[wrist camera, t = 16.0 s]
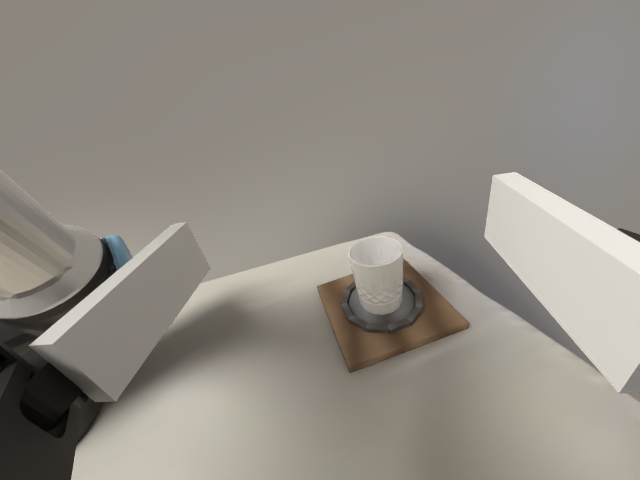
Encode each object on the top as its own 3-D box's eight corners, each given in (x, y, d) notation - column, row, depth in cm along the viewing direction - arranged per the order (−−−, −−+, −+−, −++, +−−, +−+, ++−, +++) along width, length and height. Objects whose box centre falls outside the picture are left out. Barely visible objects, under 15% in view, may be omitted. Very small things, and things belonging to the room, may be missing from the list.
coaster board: (349, 372, 35) (347, 363, 34) (318, 290, 51) (316, 282, 50) (467, 328, 37) (468, 318, 36) (402, 262, 53) (402, 254, 52)
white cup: (347, 304, 44) (337, 256, 39) (375, 278, 48) (369, 231, 43) (388, 326, 38) (382, 273, 34) (415, 295, 43) (413, 243, 38)
